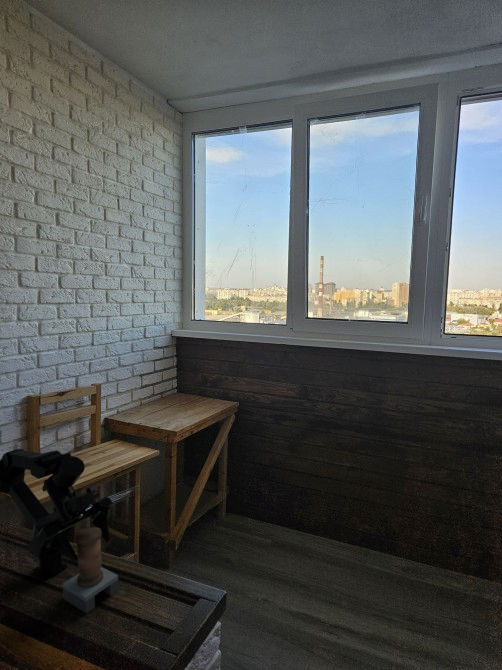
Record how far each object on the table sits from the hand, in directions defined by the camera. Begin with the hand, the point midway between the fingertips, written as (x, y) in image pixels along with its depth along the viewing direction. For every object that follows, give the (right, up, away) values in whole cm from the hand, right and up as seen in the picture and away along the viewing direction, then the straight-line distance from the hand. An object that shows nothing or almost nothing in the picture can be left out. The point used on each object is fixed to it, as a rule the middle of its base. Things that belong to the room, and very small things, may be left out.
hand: (92, 550), depth 105 cm
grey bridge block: (-1, -12, +2) cm, 12 cm away
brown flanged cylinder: (-1, -8, +2) cm, 8 cm away
